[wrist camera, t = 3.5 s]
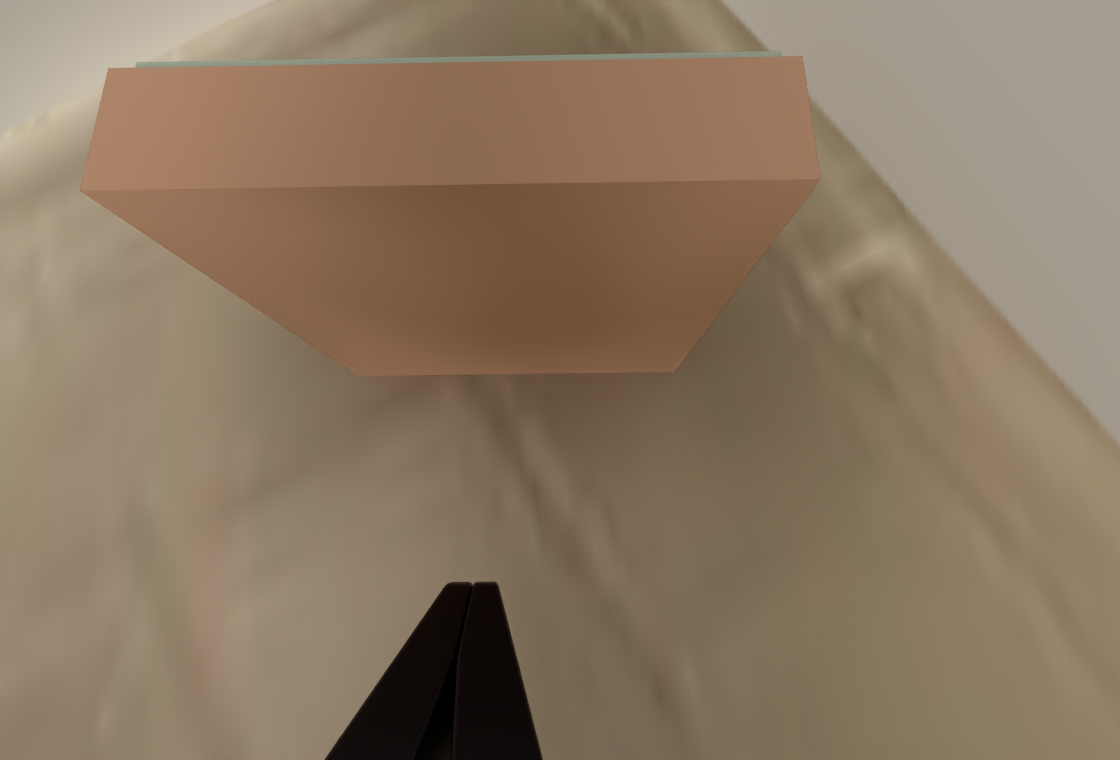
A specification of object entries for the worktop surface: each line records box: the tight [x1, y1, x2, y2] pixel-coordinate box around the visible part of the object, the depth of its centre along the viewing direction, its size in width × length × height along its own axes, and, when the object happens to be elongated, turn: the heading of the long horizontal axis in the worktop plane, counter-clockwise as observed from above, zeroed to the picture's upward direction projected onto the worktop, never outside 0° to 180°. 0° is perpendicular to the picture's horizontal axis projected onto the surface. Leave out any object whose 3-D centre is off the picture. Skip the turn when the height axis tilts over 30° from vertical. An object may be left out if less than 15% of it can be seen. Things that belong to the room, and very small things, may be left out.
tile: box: [80, 51, 820, 376], centre depth 12 cm, size 2×10×10 cm, turn 91°
